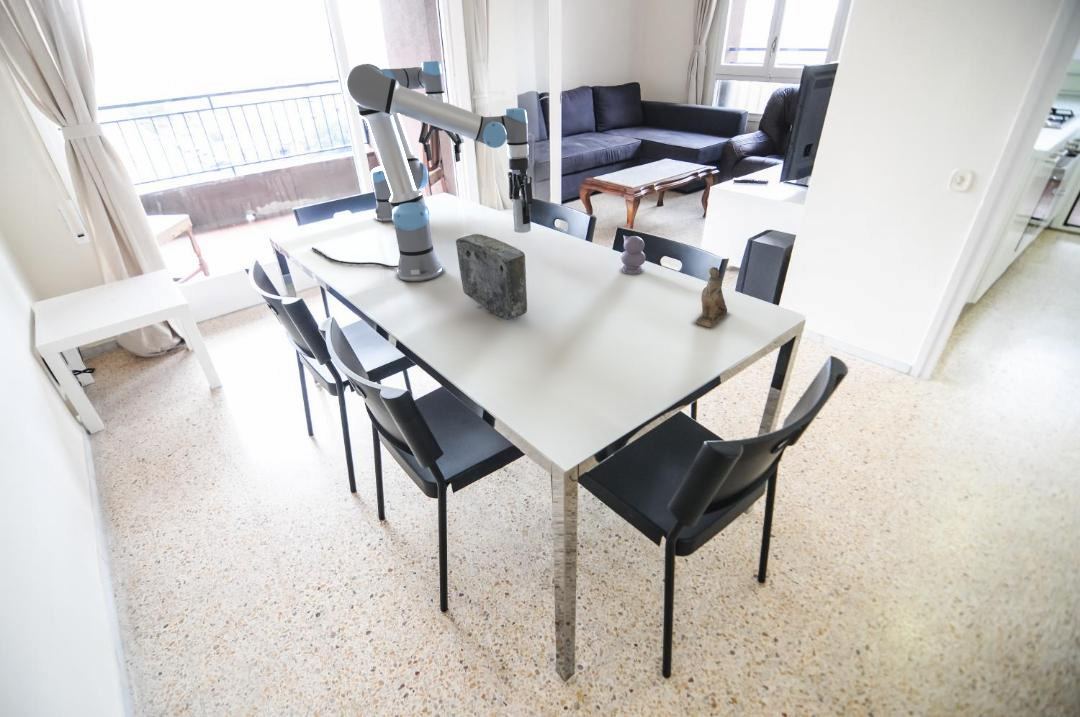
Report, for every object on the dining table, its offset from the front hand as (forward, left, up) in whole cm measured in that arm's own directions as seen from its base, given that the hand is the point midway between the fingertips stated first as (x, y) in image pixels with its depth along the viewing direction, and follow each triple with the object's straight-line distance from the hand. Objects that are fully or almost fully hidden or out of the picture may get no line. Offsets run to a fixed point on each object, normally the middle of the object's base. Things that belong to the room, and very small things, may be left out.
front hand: (522, 221), depth 189 cm
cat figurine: (+45, -10, -11) cm, 48 cm away
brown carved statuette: (+74, -39, -11) cm, 84 cm away
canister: (0, 0, -4) cm, 4 cm away
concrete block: (+13, -52, -11) cm, 55 cm away
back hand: (-45, +23, +16) cm, 53 cm away
